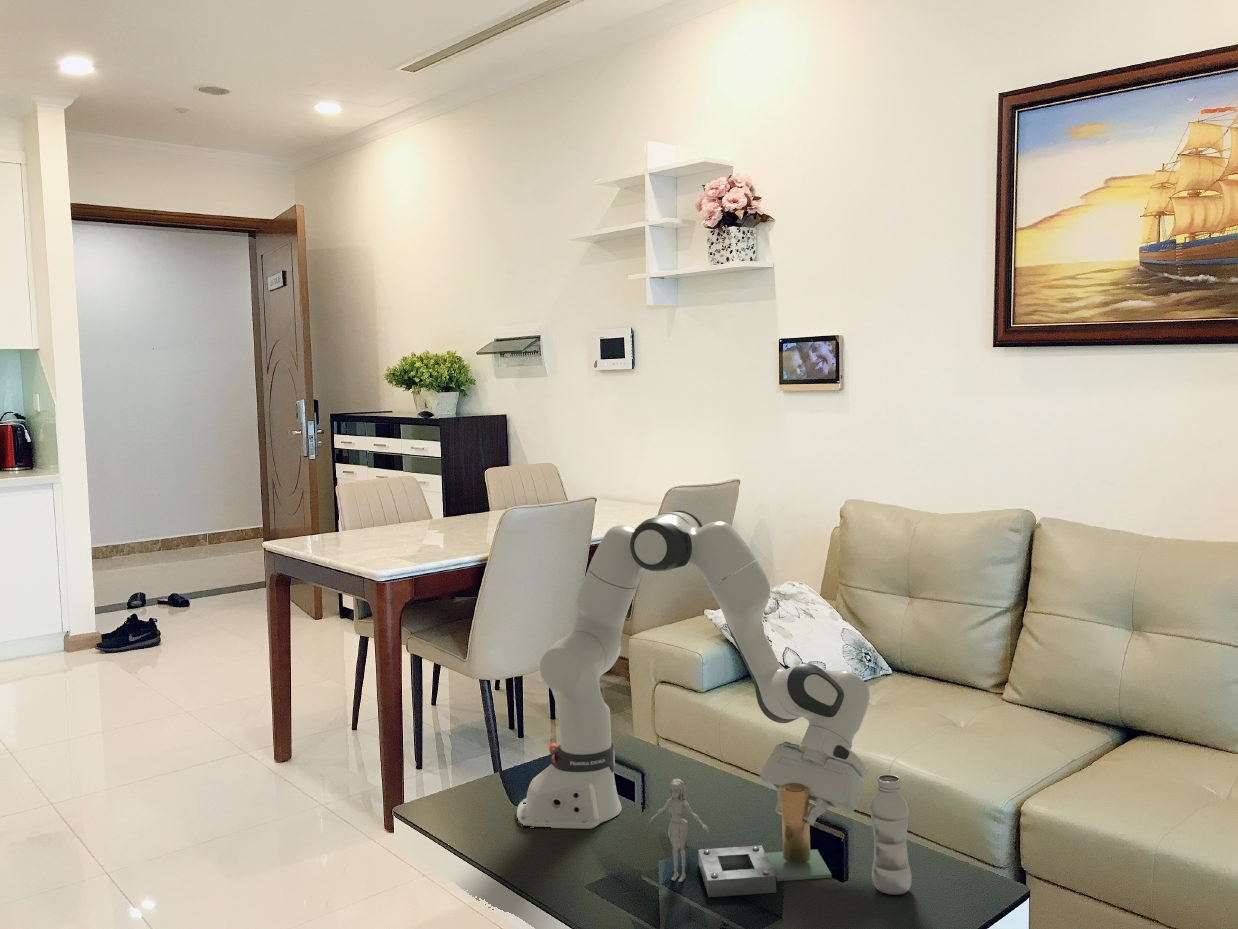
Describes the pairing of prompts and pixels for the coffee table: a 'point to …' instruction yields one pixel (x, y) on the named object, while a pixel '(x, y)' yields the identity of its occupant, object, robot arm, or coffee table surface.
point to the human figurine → (678, 823)
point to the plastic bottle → (890, 837)
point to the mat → (798, 867)
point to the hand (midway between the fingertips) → (793, 818)
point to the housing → (736, 871)
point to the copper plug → (795, 823)
